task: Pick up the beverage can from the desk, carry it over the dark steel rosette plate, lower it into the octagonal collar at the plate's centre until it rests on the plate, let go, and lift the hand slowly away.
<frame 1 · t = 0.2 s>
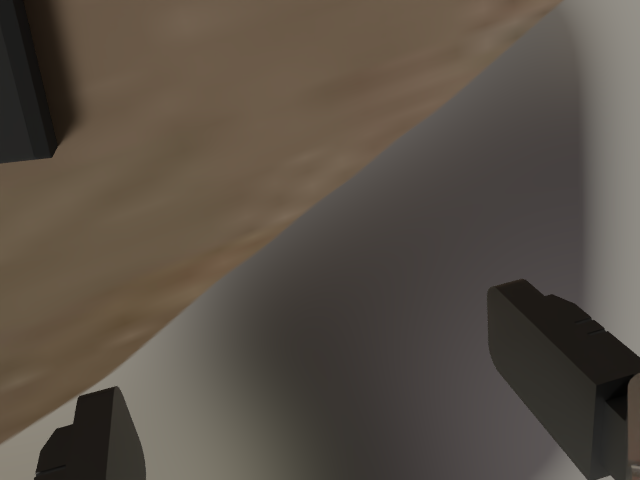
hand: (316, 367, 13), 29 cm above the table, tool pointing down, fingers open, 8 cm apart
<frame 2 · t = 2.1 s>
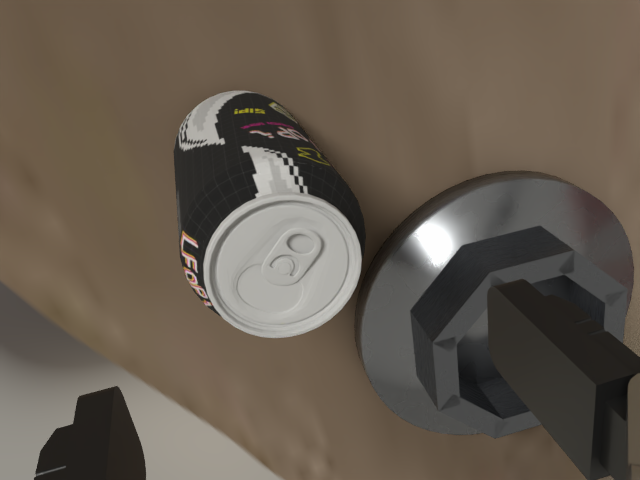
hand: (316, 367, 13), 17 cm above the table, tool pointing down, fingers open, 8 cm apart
beverage can: (237, 149, 28), on the table
rosette socket: (489, 305, 35), on the table
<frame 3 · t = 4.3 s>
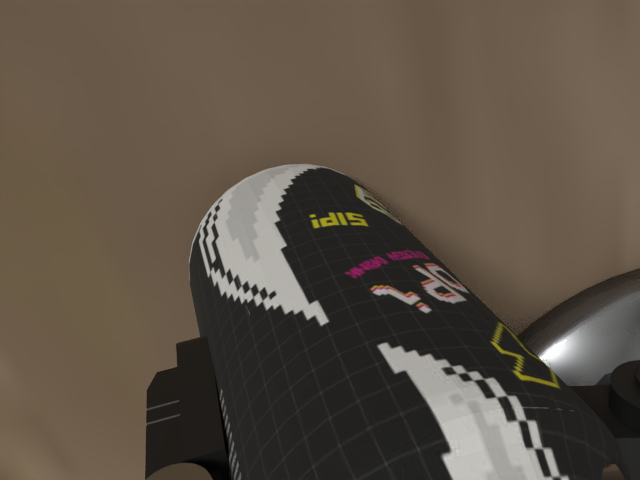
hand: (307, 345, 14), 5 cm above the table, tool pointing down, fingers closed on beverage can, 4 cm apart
beverage can: (285, 247, 18), on the table, touching gripper
rosette socket: (620, 438, 25), on the table
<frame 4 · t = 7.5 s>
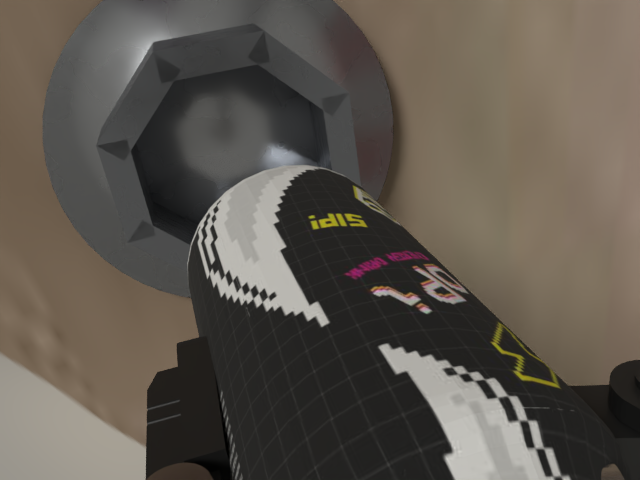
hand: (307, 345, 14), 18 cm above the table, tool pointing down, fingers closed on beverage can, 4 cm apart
beverage can: (283, 248, 18), point 13 cm above the table, touching gripper
rosette socket: (226, 140, 30), on the table
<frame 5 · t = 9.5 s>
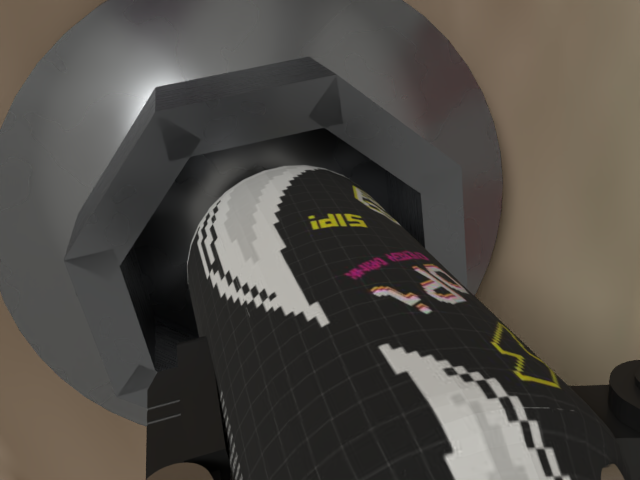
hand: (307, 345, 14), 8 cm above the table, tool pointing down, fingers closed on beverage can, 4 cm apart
beverage can: (283, 248, 18), point 3 cm above the table, touching gripper
rosette socket: (261, 220, 21), on the table
when the fingers open (6 cm above the table, at t = 11.1 s): beverage can stays where it is, resting on rosette socket.
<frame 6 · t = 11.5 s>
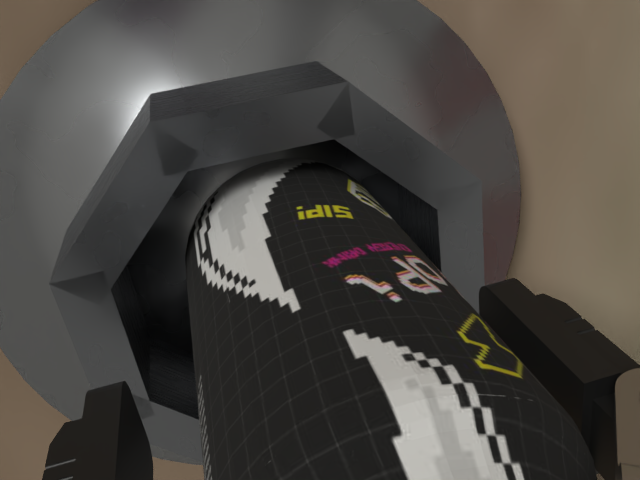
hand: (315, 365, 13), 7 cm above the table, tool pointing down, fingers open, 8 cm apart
beverage can: (282, 241, 18), point 1 cm above the table, touching rosette socket
rosette socket: (264, 234, 19), on the table
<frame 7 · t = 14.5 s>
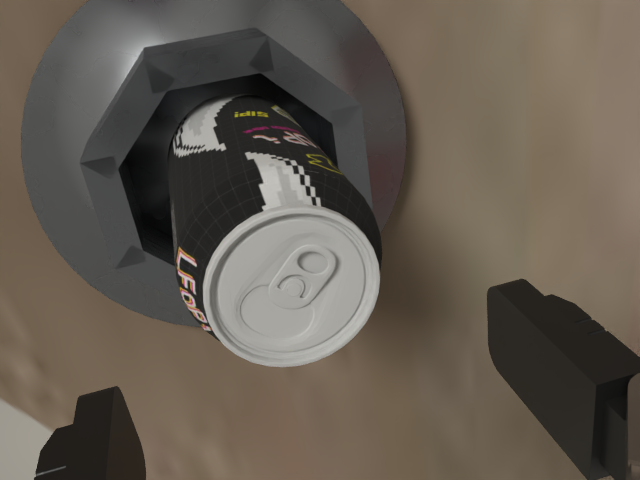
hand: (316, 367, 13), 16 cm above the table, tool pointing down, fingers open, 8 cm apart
beverage can: (236, 155, 26), point 1 cm above the table, touching rosette socket
rosette socket: (224, 154, 27), on the table
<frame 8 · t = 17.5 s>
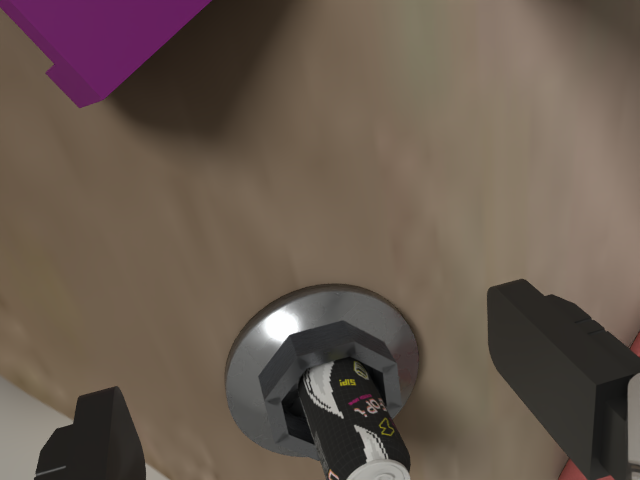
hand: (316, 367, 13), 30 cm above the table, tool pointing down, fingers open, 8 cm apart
beverage can: (329, 374, 50), point 1 cm above the table, touching rosette socket
rosette socket: (321, 368, 51), on the table
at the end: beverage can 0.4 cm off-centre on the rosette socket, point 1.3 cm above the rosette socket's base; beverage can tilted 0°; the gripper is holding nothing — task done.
